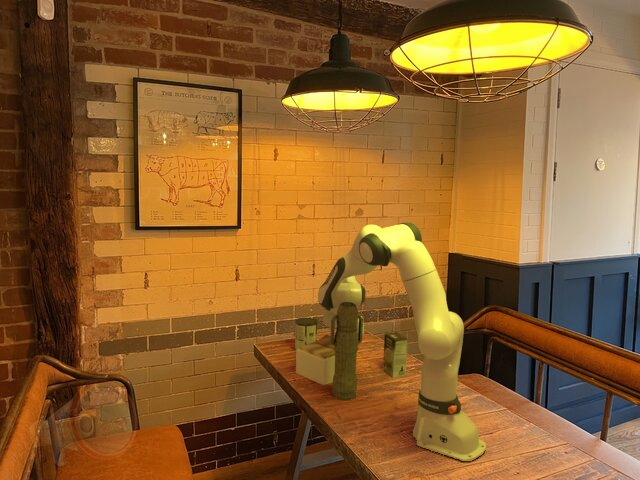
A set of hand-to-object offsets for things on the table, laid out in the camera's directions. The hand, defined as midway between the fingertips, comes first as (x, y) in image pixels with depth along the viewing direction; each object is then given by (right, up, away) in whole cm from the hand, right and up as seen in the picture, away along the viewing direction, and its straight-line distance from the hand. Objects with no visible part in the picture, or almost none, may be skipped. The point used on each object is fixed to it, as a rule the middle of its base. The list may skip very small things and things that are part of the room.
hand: (342, 340), depth 204 cm
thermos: (0, -16, -21) cm, 26 cm away
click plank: (-4, -2, +1) cm, 4 cm away
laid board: (-10, -3, -5) cm, 11 cm away
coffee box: (+22, -14, +1) cm, 26 cm away
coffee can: (-16, -10, +25) cm, 31 cm away
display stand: (-7, -13, -1) cm, 15 cm away
